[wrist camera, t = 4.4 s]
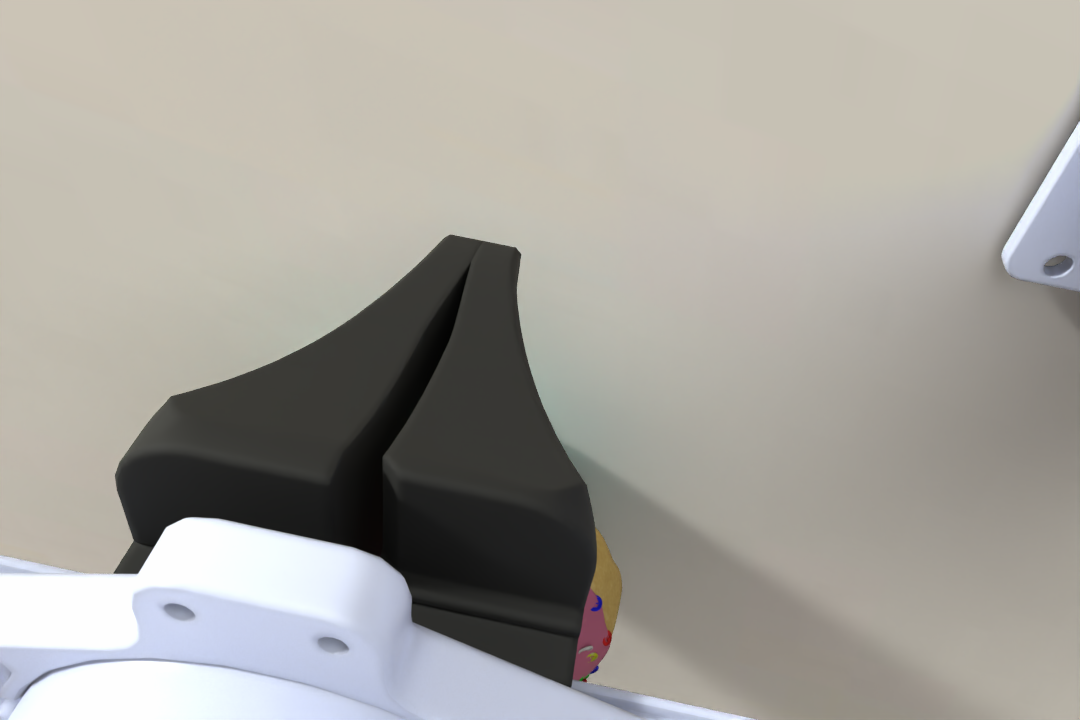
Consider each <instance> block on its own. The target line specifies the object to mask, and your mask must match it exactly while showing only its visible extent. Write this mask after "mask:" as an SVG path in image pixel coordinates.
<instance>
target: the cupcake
mask: <svg viewBox="0 0 1080 720" xmlns="http://www.w3.org/2000/svg"><path fill="white" fill-rule="evenodd" d="M595 531H596V541H597V564H596V570H595V574H594V577H593V581H592V584H591V587H590V591H589V594H588V597H587V601H586V604H585V607H584V614H583V621H582V628H581V633H580V636H579V638H578V645H577V652H576V659H575V666H574V673H573V680H578V681H583V682H587V680H586V679H587V678H588V677H589V674H592V673H594V672H596V671H597V670H598V669H599V667H598V664H599V663H600V661H601V660H602V659H603V658H604V656H605V655H606V653H607V651H608V649H609V647H610V643H611V639H612V633H613V630H614V627H615V623H616V619H617V614H618V609H619V604H620V599H621V592H622V580H621V575H620V571H619V569H618V567H617V565H616V564H615V563H614V561H613V559H612V556H611V554H610V551H609V549H608V547H607V544H606V542H605V540H604V538H603V537H602V535H601V534H600V532H599V531H598V530H597V529H596V527H595Z"/></svg>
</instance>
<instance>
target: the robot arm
mask: <svg viewBox="0 0 1080 720" xmlns="http://www.w3.org/2000/svg"><path fill="white" fill-rule="evenodd" d="M1001 256H1002V261H1003V264H1004V267H1005V269H1006V271H1007V272H1008V274H1009V275H1010V276H1011V277H1013V278H1016V279H1018V280H1021V281H1027V282H1032V283H1037V284H1042V285H1047V286H1052V287H1057V288H1062V289H1067V290H1072V291H1077V292H1080V121H1079V123H1078V124H1077V126H1076V128H1075V129H1074V131H1073V133H1072V134H1071V136H1070V138H1069V139H1068V141H1067V143H1066V144H1065V146H1064V148H1063V149H1062V151H1061V153H1060V154H1059V156H1058V158H1057V159H1056V161H1055V163H1054V164H1053V166H1052V168H1051V169H1050V171H1049V173H1048V174H1047V176H1046V178H1045V179H1044V181H1043V183H1042V184H1041V186H1040V188H1039V189H1038V191H1037V193H1036V195H1035V196H1034V198H1033V200H1032V201H1031V203H1030V205H1029V206H1028V208H1027V210H1026V211H1025V213H1024V215H1023V216H1022V218H1021V220H1020V221H1019V223H1018V225H1017V226H1016V228H1015V230H1014V231H1013V233H1012V235H1011V236H1010V238H1009V240H1008V241H1007V243H1006V245H1005V246H1004V249H1003V251H1002V254H1001ZM1056 256H1067V257H1066V259H1065V260H1064V261H1063V262H1061V263H1060V264H1057V265H1055V266H1045V264H1046V263H1047V262H1048V261H1049V260H1050V259H1051V258H1054V257H1056ZM520 259H521V254H520V252H519V251H518V250H517V248H515V247H510V246H505V245H500V244H495V243H490V242H485V241H480V240H475V239H470V238H465V237H460V236H455V235H449V236H447V237H445V238H444V239H443V240H442V241H441V242H440V243H439V244H438V245H437V246H436V247H435V248H434V249H433V250H432V251H431V252H430V253H429V254H428V255H427V256H426V257H425V258H424V259H423V260H422V261H421V262H420V263H419V264H418V265H417V266H416V267H414V268H413V269H412V270H411V271H410V272H409V273H408V274H407V275H406V276H404V277H403V278H402V279H401V280H400V281H399V282H398V283H396V284H395V285H394V286H393V287H392V288H391V289H389V290H388V291H387V292H386V293H385V294H383V295H382V296H381V297H380V298H378V299H377V300H376V301H374V302H373V303H372V304H370V305H369V306H368V307H366V308H365V309H364V310H362V311H361V312H360V313H358V314H357V315H356V316H354V317H353V318H352V319H350V320H349V321H347V322H346V323H344V324H343V325H341V326H340V327H338V328H337V329H335V330H333V331H332V332H330V333H328V334H327V335H325V336H323V337H322V338H320V339H318V340H317V341H315V342H313V343H311V344H309V345H308V346H306V347H304V348H302V349H300V350H298V351H296V352H294V353H292V354H290V355H288V356H285V357H283V358H281V359H279V360H277V361H275V362H273V363H270V364H268V365H266V366H263V367H261V368H258V369H256V370H253V371H251V372H248V373H245V374H243V375H240V376H237V377H235V378H232V379H229V380H226V381H223V382H220V383H217V384H213V385H210V386H206V387H203V388H200V389H196V390H193V391H189V392H186V393H182V394H179V395H175V396H171V397H170V398H169V399H168V401H167V402H166V403H165V404H164V405H163V406H162V407H161V408H160V409H159V410H158V412H157V413H156V414H155V415H154V416H153V417H152V418H151V420H150V421H149V422H148V423H147V425H146V426H145V427H144V429H143V430H142V431H141V433H140V434H139V436H138V437H137V438H136V440H135V441H134V443H133V444H132V446H131V447H130V448H129V450H128V451H127V453H126V454H125V456H124V457H123V458H122V460H121V461H120V463H119V465H118V468H117V471H116V474H115V479H116V486H117V491H118V494H119V497H120V500H121V503H122V506H123V509H124V512H125V515H126V518H127V521H128V524H129V527H130V530H131V533H132V536H133V539H134V542H133V543H132V545H131V546H130V548H129V550H128V551H127V553H126V554H125V556H124V557H123V559H122V561H121V562H120V564H119V565H118V567H117V569H116V570H115V572H114V573H113V574H86V573H81V572H77V571H72V570H67V569H63V568H58V567H54V566H49V565H44V564H40V563H35V562H31V561H26V560H21V559H17V558H12V557H8V556H3V555H0V720H757V719H753V718H748V717H743V716H739V715H734V714H730V713H725V712H721V711H716V710H711V709H707V708H702V707H698V706H693V705H688V704H684V703H679V702H675V701H670V700H665V699H661V698H656V697H652V696H647V695H642V694H638V693H633V692H629V691H624V690H619V689H615V688H610V687H606V686H601V685H596V684H592V683H587V682H583V681H578V680H573V673H574V666H575V659H576V652H577V645H578V638H579V636H580V633H581V628H582V621H583V614H584V607H585V604H586V601H587V597H588V594H589V591H590V587H591V584H592V581H593V577H594V574H595V570H596V564H597V541H596V531H595V524H594V518H593V513H592V507H591V503H590V498H589V494H588V489H587V485H586V484H585V482H584V481H583V479H582V478H581V476H580V475H579V473H578V472H577V470H576V469H575V467H574V466H573V464H572V462H571V461H570V459H569V458H568V456H567V454H566V452H565V450H564V449H563V447H562V445H561V443H560V441H559V440H558V438H557V436H556V434H555V431H554V429H553V427H552V425H551V423H550V421H549V418H548V416H547V414H546V412H545V410H544V408H543V405H542V403H541V400H540V397H539V395H538V392H537V389H536V386H535V383H534V380H533V377H532V374H531V371H530V367H529V364H528V360H527V356H526V352H525V347H524V343H523V338H522V333H521V327H520V320H519V312H518V304H517V281H518V274H519V267H520Z"/></svg>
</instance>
